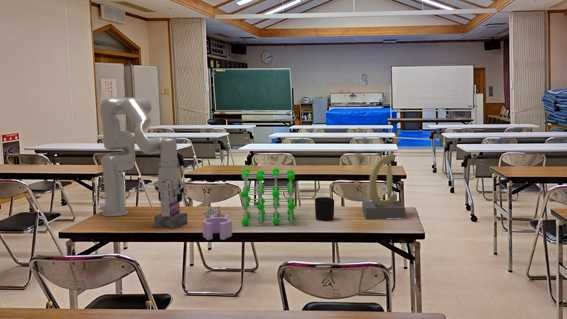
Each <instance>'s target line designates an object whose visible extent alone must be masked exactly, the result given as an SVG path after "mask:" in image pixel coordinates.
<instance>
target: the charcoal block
mask: <svg viewBox="0 0 567 319" xmlns="http://www.w3.org/2000/svg"><path fill="white" fill-rule="evenodd" d="M187 224H188V212H179V213H177V214H175V215H174V216H172V217H162V216H161V213H160V214H157V215H154V227H155V228H161V229H162V228H164V229H165V228H166V229H174V230H175V229H178V228H180V227H182V226H185V225H187Z"/></svg>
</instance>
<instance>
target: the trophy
mask: <svg viewBox="0 0 567 319" xmlns="http://www.w3.org/2000/svg"><path fill="white" fill-rule="evenodd" d="M396 157H397V154H393V153H392V154H387V155H383V156H382V157H380V158H379V159H378V160H377V161H376V162H375V163H374V165H373V167H372V169H371V172H370V175H369V184H368V186H369V194H370V199H371V200H362V201H361V202H362V203H361V204H362V205H361V206H362V208H361V210H362V213H363V217H364V218H365V220H388V219H387V218H405V219H406V206H404V205H403V204H402V202H401V201H400V200H397V199H398V196H397V193H393V191H392V190H393V168H392V165H391V162H392V161H393V162H395V160H396ZM387 162H388V165H387V169H386V189H387V194H388V198H387V199H385V200H384V199H383V200H382V199H381V198H380V197H379V194H378V188H377V187H378V186H377V180H378V174H379V171H380V169H381V168H382V166H383V165H384V164H386V163H387ZM392 193H393V195H392ZM381 218H382V219H381Z"/></svg>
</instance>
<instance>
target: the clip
mask: <svg viewBox="0 0 567 319" xmlns="http://www.w3.org/2000/svg"><path fill="white" fill-rule="evenodd" d="M222 215H223V217H218V215H211V216H210V218H208V219H207V218H205V219H203V220H202V237H203V238H204V239H206V241H210V240H212V239H213V234H219V239H220V240H223V241H224V240H226V239H228V238H229V239H230V237H232V236H233V223H232V222H233V220H232V219H231V218H230V215H228V214H227V213H226V214H225V213H224V214H222Z"/></svg>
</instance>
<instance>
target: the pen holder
mask: <svg viewBox="0 0 567 319" xmlns="http://www.w3.org/2000/svg"><path fill="white" fill-rule="evenodd" d="M314 211H315V212H314V213H315V219H316V220H317V221H320V222H328V221H333V220H334V218H335V199H334V198H332V197H330V196H320V197H315V198H314Z"/></svg>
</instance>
